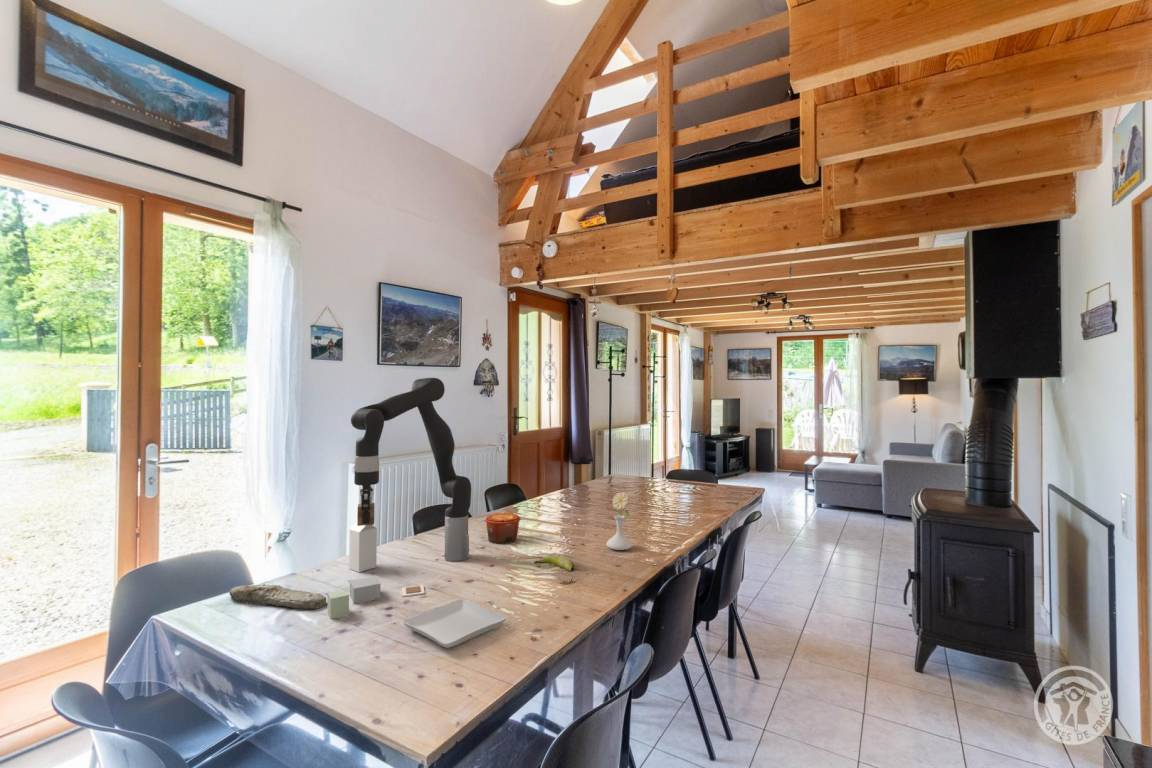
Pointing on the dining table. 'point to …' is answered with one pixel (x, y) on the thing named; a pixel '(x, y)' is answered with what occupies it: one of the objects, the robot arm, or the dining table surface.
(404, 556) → the dining table surface
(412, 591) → the swatch
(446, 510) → the robot arm
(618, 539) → the flower in vase
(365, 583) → the base block
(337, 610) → the sage block
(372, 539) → the milk carton
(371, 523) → the walnut block
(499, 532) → the food container
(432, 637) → the salad plate
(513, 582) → the dining table surface
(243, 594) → the long grey stone
